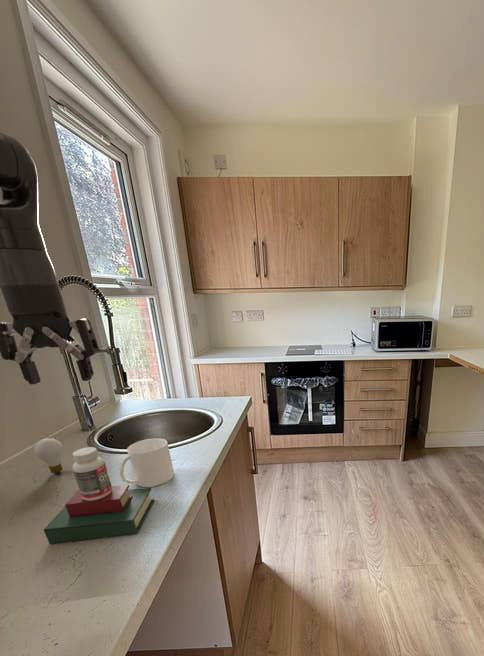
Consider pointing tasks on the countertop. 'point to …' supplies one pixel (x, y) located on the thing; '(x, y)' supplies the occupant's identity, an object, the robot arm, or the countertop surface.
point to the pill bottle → (91, 474)
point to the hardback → (101, 521)
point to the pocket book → (99, 503)
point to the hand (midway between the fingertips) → (61, 381)
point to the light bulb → (50, 453)
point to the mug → (149, 463)
